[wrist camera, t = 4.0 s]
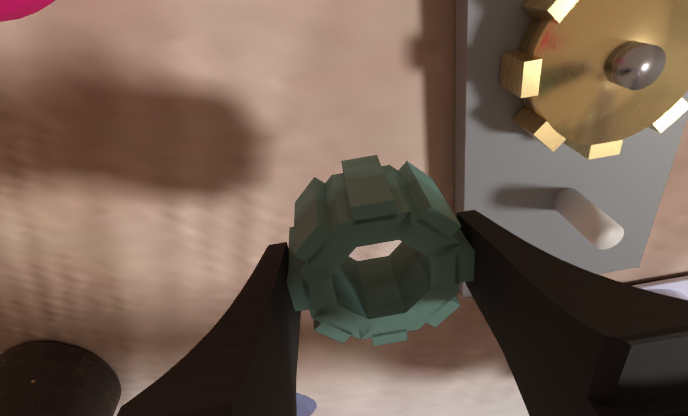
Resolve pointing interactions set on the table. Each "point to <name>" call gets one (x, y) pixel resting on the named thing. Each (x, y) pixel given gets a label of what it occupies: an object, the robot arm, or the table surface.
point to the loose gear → (379, 273)
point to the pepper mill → (20, 8)
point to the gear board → (547, 159)
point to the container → (56, 382)
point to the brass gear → (599, 71)
